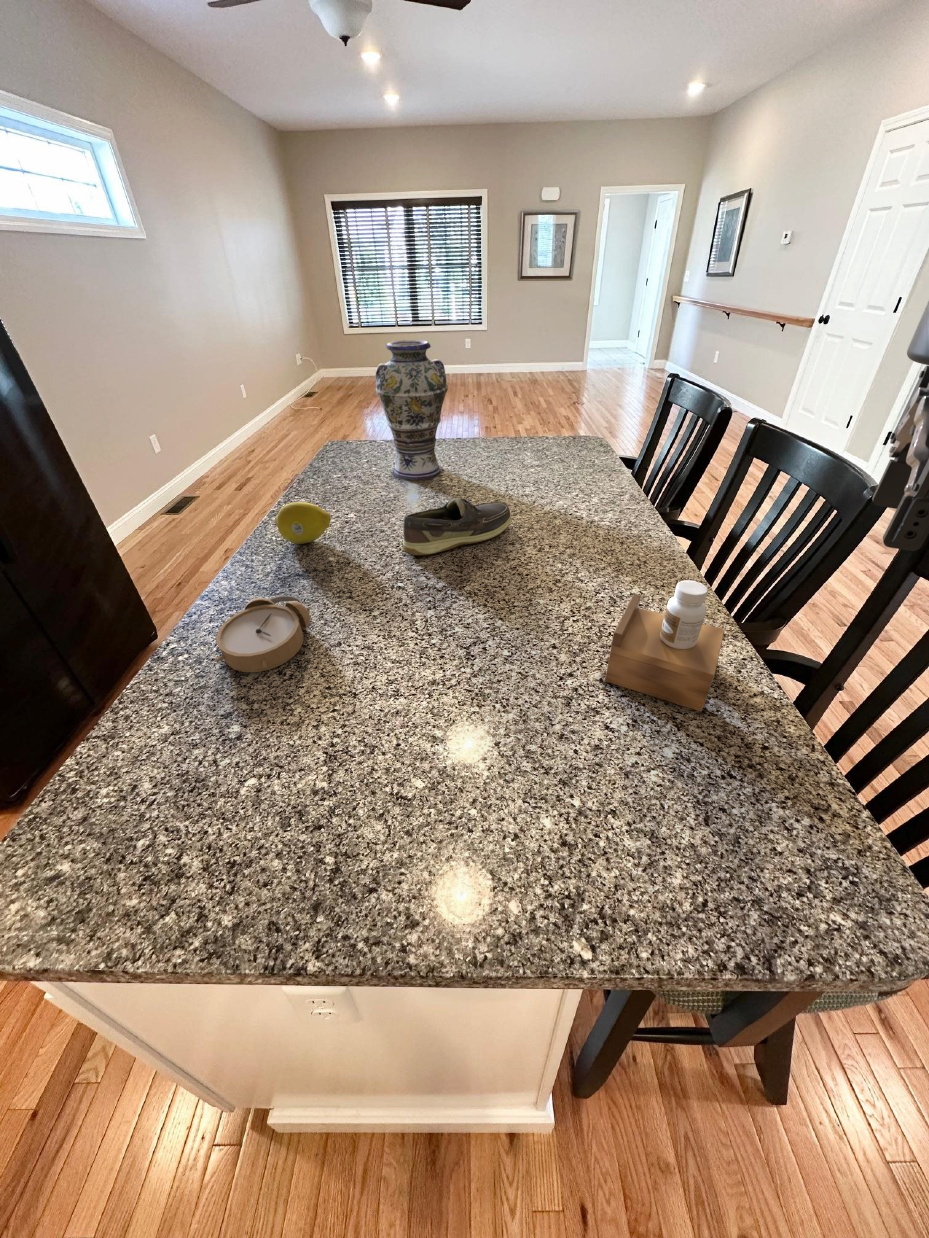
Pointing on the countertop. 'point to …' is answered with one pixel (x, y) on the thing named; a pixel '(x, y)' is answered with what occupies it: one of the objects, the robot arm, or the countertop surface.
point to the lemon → (302, 522)
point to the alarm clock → (263, 634)
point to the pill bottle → (684, 615)
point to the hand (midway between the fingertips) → (891, 524)
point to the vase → (412, 406)
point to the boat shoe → (453, 526)
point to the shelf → (662, 659)
